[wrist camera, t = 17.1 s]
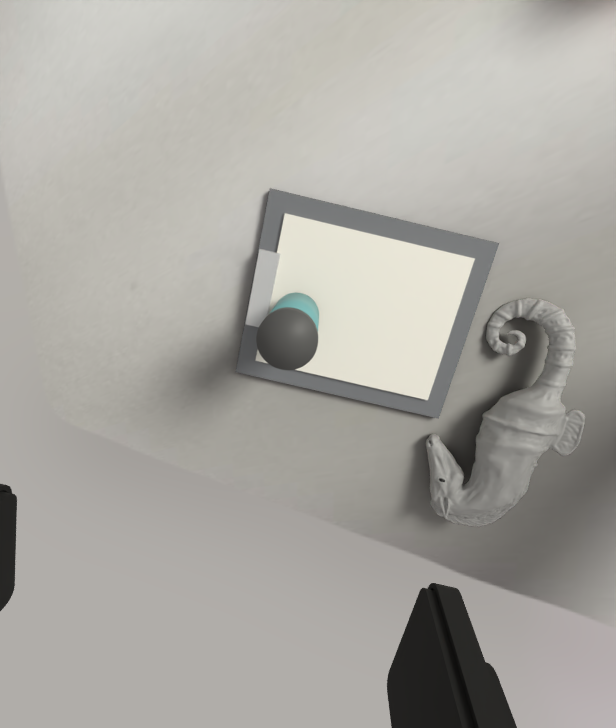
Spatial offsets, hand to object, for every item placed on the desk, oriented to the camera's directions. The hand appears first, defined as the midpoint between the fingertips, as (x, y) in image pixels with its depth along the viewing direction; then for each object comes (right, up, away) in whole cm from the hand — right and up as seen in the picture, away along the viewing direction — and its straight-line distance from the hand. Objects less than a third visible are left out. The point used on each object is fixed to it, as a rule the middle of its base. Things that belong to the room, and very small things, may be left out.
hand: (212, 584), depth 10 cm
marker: (+1, +9, +25) cm, 27 cm away
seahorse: (+18, +1, +28) cm, 33 cm away
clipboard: (+6, +9, +25) cm, 28 cm away
